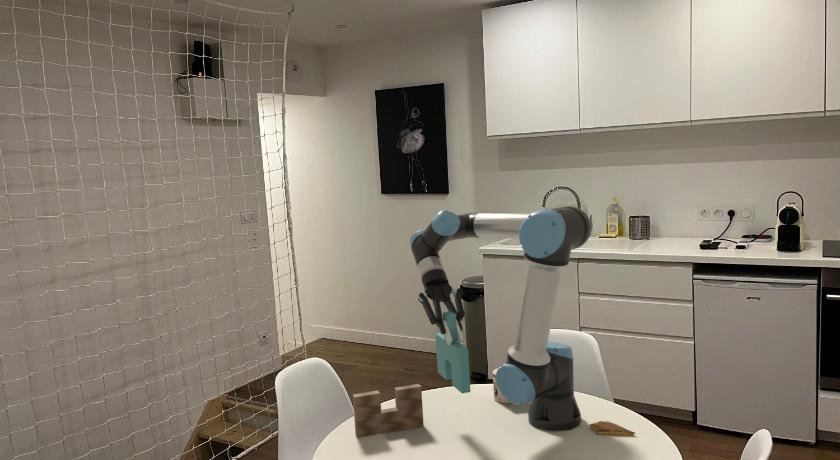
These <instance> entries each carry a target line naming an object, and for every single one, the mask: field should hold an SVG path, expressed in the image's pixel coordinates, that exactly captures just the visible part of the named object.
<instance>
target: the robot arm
mask: <svg viewBox="0 0 840 460" xmlns="http://www.w3.org/2000/svg"><path fill="white" fill-rule="evenodd" d="M591 221H592V220H591V219H590V217H589V216H588V214H587V212H585V211H584V210H583V209H581V208H579V207H577V206H571V205H570V206H566V205H565V206H562V207H556V208H543V209H540V210H537V211H534V212H508V213H507V212H504V213H503V212H501V213H500V212H499V213H498V212H497V213H496V212H494V213H493V212H490V213H484V212H483V213H482V212H468V213H463V214H456V213H454V211H452V210H448V209H441V211H439V212H438V213H437V215H435V216H434V217H433V219H432V220H431V222H429V224H428V226H427V227H426V228H425V229H419V230H418V231H416V232H415V233H412V234H411V235H410V238H409V244H410V251H411V253H412V256H413V258H414V260H415V263H416V267H417V269H418V273H419V275H420V278H421V282H422V283H421V284H422V286H423V289H424V292H419V294H418V297H417V300H418V301H419V303H421V305H422V307H423V310H424V311H425V313H426V316H427V318H428V321H429V322H430V324H431V325H433V326H434V325H436V327H438V329H439V333H441V334H442V335H443V334H444V335H445V338H446V341H447V344H448V346H449V345H451V343H452V337H451V334H450V331H449V328H448V325H447V322H446V321H443V312H442V305H441V302H442V303H443V304H444V306H445V308H446V309H447V312H453V313H455V314H456V324H457V341H458V343H460V344H461V345H462V342H464V341H463V340H464V337H463V333H462V332H463V329H464V328H463V325H462V322H463V320H464V318H465V315H466V314H465V311H464V310H465V309H464V306H463V301H462V296H461V292H462V289H461V288H457V289H455V288H453V287H452V285H450V282H449V279H448V276H447V274H446V271H445V268H444V265H443V263H442V260H441V257H440V251H441V250H442V249H443V248H444V247H445V245H447V243H448V242H450V241H455V240H462V239H469V238H473V239H474V238H476V239H477V238H478V239H479V238H484V239H485V238H487V239H488V238H490V239H492V238H494V239H518V240H519V244H521V249H522V250H523V252H524V254H523V258H524V259H525V261H526V262H527V264H528V265H527V270H526V275H525V282H524V287H523V292H522V293H523V295H522V299H521V307H520V311H519V319H518V321H517V322H518V325H517V328H516V329H517V330H516V335H515V342H514V344H513V345H511V346H510V347H508V350H507V354H506V355H507V356H506V359H505V364H504V363H503V364H501V365H500V367H497V368H498V370H497V372H496V383H497V386H498V389H499V390H500V391H501V394H502V395H503V396H504V397H505V398H506V399H507V400H508V401H509V402H511V403H510V404H514V405H517V406H519V405H521V406H522V405H526V404H528V403H530V404H529V405H530V406H529V409H528V414H527V416H528V417H527V419H528V423H529V424H530V425H531V426H533V427H535V428H537V429H540V430H545V431H552V432H561V431H569V430H572V429H575V428H577V427H579V426H580V425H581V423H582V413H581V410H580V408H579V406H578V405H579V404H578V402H577V400H576V396H575V390H574V389H575V385H574V383H575V382H574V380H575V379H574V357H573V356H574V355H573V349H572V347H571V346H570V345H568V344H566V343H563V342H555V341H549V338H550V333H551V328H552V321H553V316H554V311H555V305H556V301H557V300H556V299H557V295H558V289H559V283H560V280H561V279H560V278H561V273H562V269H564V268H566V267H567V266H569V262H570V258H571V252H572V251H573V250H576V249H579V248H581V247H582V246H583V245H585V244H586V243H587V242H588V240H589V239H590V237H591V234H592V230H593V229H592V228H593V227H592V222H591ZM451 294H452V297H453V298H454V302H455V305H454V303H453V301H452V298H451ZM429 299H430V300H431V301H432V306H433V308H432V306H431V304H430V301H429ZM433 309H434V310H433ZM461 321H462V322H461Z"/></svg>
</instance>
